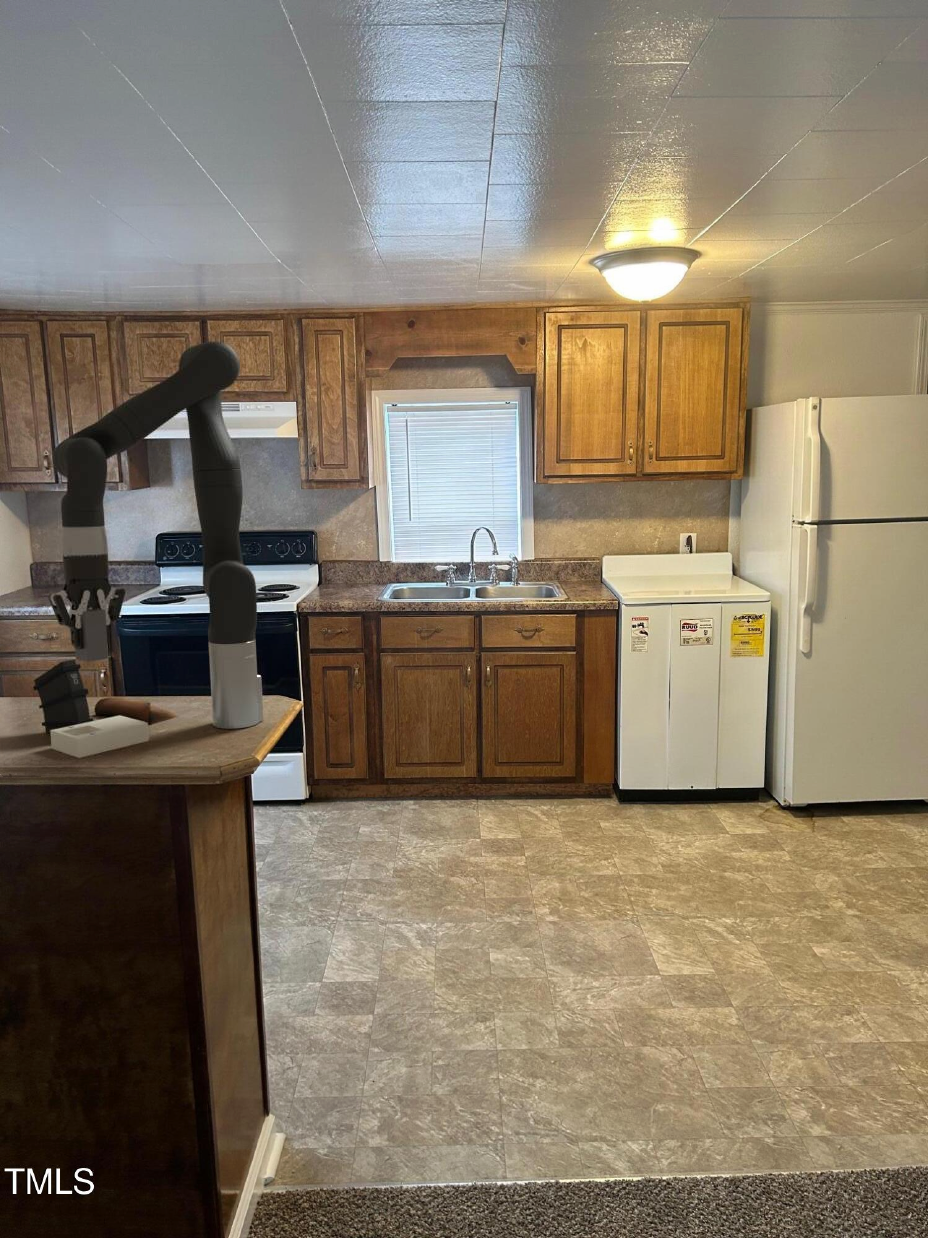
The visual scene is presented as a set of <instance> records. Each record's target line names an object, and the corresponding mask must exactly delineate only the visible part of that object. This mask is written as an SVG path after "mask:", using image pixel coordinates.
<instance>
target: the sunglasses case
mask: <svg viewBox="0 0 928 1238" xmlns="http://www.w3.org/2000/svg"><path fill="white" fill-rule="evenodd" d="M94 714H95V715H105V716H107V715H108V716H112V715H113V716H114V717H115V716H119V715H120V716H124V717H128V718H131V719H135V720H139V721H143V722H146V723H148V724H150V725H155V724H159V723H161V722H166V721H168V720H173V719H175V718H178V717H179V716H178V715H177V714H175V713H174V712H171V711H169V710H167V709H163V708H162V707H161V708H160V707H157V706H154V705H151V702H149V701H146V700H135V699H131V698H126V697H118V696H117V697H114V696H113V697H111V696H110V697H105V698H101V699H99V700H98V701H96V704H95V705H94Z"/></svg>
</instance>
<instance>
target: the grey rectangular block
mask: <svg viewBox="0 0 928 1238" xmlns="http://www.w3.org/2000/svg"><path fill="white" fill-rule="evenodd" d="M82 620H83V622H82V627H81V628H82V629H83V640H84V648H83V649H75V648H74V651H75V654H74V655H75V661H76V660H78V661H81V662H87V663H88V662H89V663H90V662H95V661H102V660H108V659H109V652H108V650H109V648H108V645H107V630H106V612H105V609H103V610H100V609H97V608H95V609H93V608H89V609H86V611H85V612H84V614H83V616H82Z"/></svg>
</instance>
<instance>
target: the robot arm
mask: <svg viewBox="0 0 928 1238" xmlns="http://www.w3.org/2000/svg"><path fill="white" fill-rule="evenodd" d="M240 366H241V365H240V360H239V357H238V355H237V353H236V352H235V350H234V349H233V348H232V347H231V346H229V345H228V344H226V343H224V342H221V341H212V340H211V341H206V342H201V343H199V344H196V345H193V346H190V347H189V348H187V349H185V350H184V351H183V352H182V354H181V356H180V358H179V361H178V370H177V371H176V372H175V373H174V374H172V375H170V376H169V377H167V378H166V379H164V380H162V381H161V382H159V383H157V384H156V385H153V386H151V387H149V388H147V389H146V390H144V391H142V392H140V393H138V394H136V395H135V396H133V397H131V398H130V399H129V398H128V399H127V400H126V401H124V402H122V403H121V404H119V405H118V406H116V407H115V408H114V409H112V410H111V411H109V412H108V413H106V414H105V415H104V416H102V418H100V419H99V420H97V421H95V422H94V423H93V424H90V425H88V426H86V427H85V428H83V429H81V430H79V431H77V432H76V433H73V434H72V435H70V436H68V437H67V438H65V439H64V440H62V441H61V442H60V443H59V444H58V445H57V446H56V447H55V449H54V451H53V452H52V454H53V455H52V465H53V466H54V469H55V470H56V472H57V473H59V475H61V476H62V477H65V478H66V480H67V481H66V493H65V494H64V495H63V497H62V498H61V501H60V511H61V514H60V515H61V526H62V528H61V552H62V553H61V554H62V568H63V570H62V571H63V579H64V586H63V588H62V590H61V591H59V592H57V593H50V594H49V595H48V597H47V599H48V601H49V603H50V605H51V609H52V611H53V613H54V615H55V617H56V618H55V619H56V620H57V622H58V624H59V626H64V627H68V628H69V631H70V641H71V642H70V644H71V645H72V646H73V647H74V650H75V649H83V648H84V640H83V629H82V628H81V627H82V622H83V620H82V616H83V614H84V612H85V611H86V609H89V608H93V609H95V608H97V609H100V610H103V609H105V612H106V630H107V646H108V643H109V642H110V641H111V636H110V635H111V634H110V624H111V623H113V622H114V621H118V620H119V619H120V616H121V612H122V608H123V607H122V606H123V603H124V600H125V595H126V590H125V589H124V588H118V587H113V586H112V585H111V583H110V581H109V576H110V570H109V568H110V566H109V548H108V547H109V546H108V539H107V533H106V526H105V525H106V523H105V507H104V497H105V493H106V486H107V484H106V483H107V477H108V459H110V458H112V457H114V456H115V455H118V454H121V453H125V452H126V451H128V450H130V449H131V448H133V447H134V446H136V445H137V444H139V443H140V442H141V441H143V440H144V439H145V438H147V437H148V436H149V435H151V434H152V433H154V432H156V430H158V429H159V428H160V427H162V426H163V425H165V424H166V423H167V422H169V421H170V420H171V419H173V418H174V417H175V416H177V415H178V414H180V413H181V412H183V411H184V410H185V411H186V416H187V422H188V437H189V444H190V453H191V455H190V456H191V464H192V465H191V466H192V477H193V486H194V487H193V488H194V494H195V501H196V509H197V515H198V519H199V520H198V521H199V526H200V531H201V536H202V586H203V587H202V588H203V590H204V593H205V594H206V596H207V597H208V602H209V603H208V604H209V624H208V625H209V626H208V630H207V634H208V635H207V637H208V638H207V639H208V640H207V641H208V655H209V675H210V676H209V677H210V691H211V694H210V695H211V709H212V712H211V713H212V725H213V727H215V728H217V729H218V728H219V729H229V730H230V729H232V730H233V729H243V728H248V727H253V726H256V725H257V724H259V723H260V722H264V706H263V705H264V703H263V701H264V699H263V685H262V684H263V682H262V681H263V680H262V676H261V675H260V674H258V666H257V664H258V663H257V662H258V661H257V645H256V629H257V625H258V611H257V610H258V605H257V604H258V603H257V602H258V601H257V585H256V584H257V583H256V579H255V577H254V573H253V572H252V571H251V570H250V569H249V568H248V566H246V565H245V564H244V561H243V554H242V548H241V539H240V525H241V518H242V517H241V516H242V509H243V508H242V507H243V495H244V493H243V491H244V490H243V480H242V478H243V477H242V470H241V469H242V468H241V467H242V466H241V462H240V458H239V454H238V452H237V449H236V447H235V445H234V442H233V440H232V439H231V438H232V437H231V436H230V434H229V432H228V429H227V427H226V424H225V421H224V416H223V410H222V407H223V406H222V395H221V394H222V393H221V391H224V390H226V389H227V388H230V387H232V385H234V383H235V382H236V380H237V379H238V377H239V374H240V369H241V367H240ZM107 597H109V602H108V604H107V602H106V599H107ZM66 599H67V600H68V601H69V602H70V606H69V610H68V608H67V606H66V603H67V600H66Z"/></svg>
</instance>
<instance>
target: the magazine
mask: <svg viewBox="0 0 928 1238" xmlns="http://www.w3.org/2000/svg"><path fill="white" fill-rule="evenodd" d="M81 668H82V667H81V664H80V663H77V661H76V659H71V660H65V661H60V662H59V663H57V664H56V665H55V666H53V667H51V668H50V669H48V670H46V672H44V673H42V674H41V675H40V676H38V677H36V678H34V680H33V681H34V682H33V683H34V686H32V688H33V689H32V690H33V691H37V693H38V697H39V698H40V702H41V704H39V705H38V709H39V710H40V709H42V712H43V719H44V721H43V722H41V726H42V727H44V728H45V733H46V734H50V735H51V733H50V730H54V729H59V728H64V727H68V726H73V725H78V724H82V723H87V722H92V721H94V718H93V717H90V709H89V704H88V699H87V695H88V694H89V688H85V687H84V682H83V679H82V676H81V673H80V669H81Z"/></svg>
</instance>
